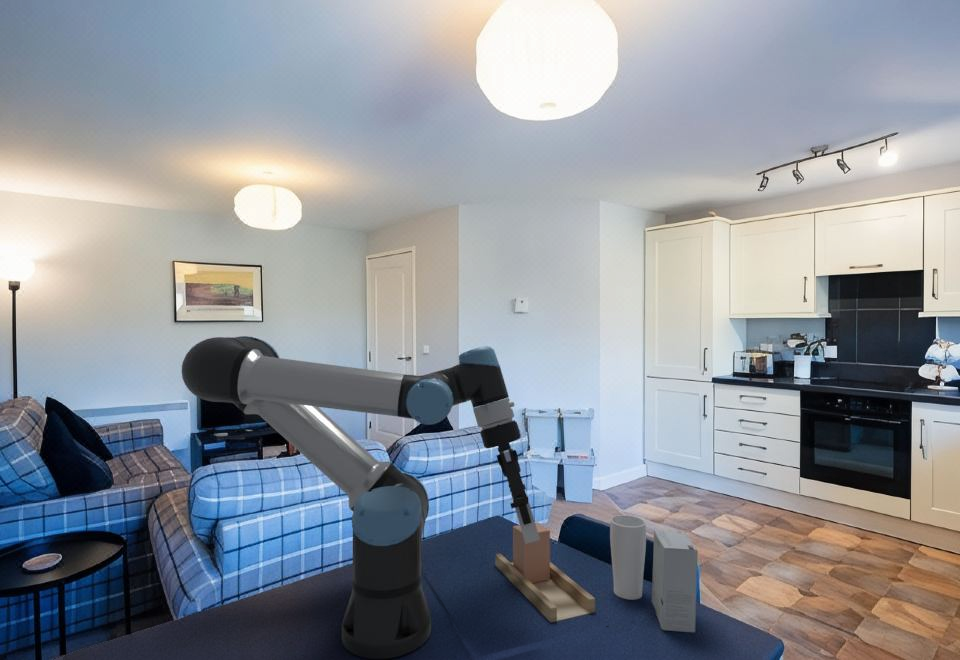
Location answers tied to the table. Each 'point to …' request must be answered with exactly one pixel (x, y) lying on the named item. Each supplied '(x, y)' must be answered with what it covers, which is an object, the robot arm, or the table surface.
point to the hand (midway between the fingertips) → (529, 532)
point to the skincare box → (674, 580)
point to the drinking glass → (628, 555)
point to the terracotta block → (532, 554)
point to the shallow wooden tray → (550, 592)
